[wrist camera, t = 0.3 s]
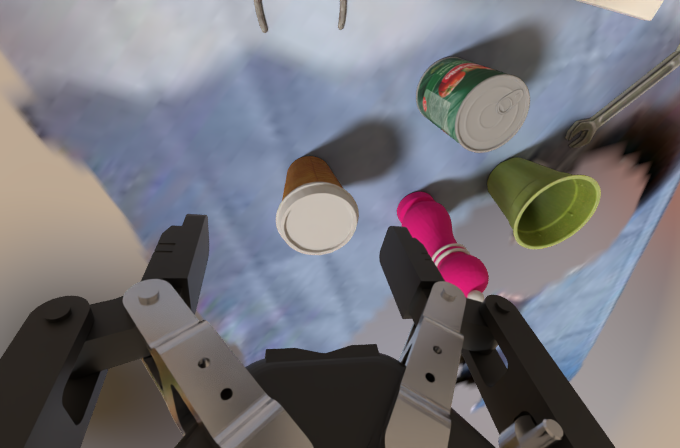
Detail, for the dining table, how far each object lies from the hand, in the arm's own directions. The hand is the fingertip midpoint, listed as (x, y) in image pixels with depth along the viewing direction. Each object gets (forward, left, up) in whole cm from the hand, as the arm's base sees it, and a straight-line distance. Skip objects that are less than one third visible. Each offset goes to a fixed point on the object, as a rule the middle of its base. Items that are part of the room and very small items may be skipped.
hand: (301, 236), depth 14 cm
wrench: (-7, +50, -29) cm, 58 cm away
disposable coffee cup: (+11, +5, -29) cm, 31 cm away
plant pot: (+8, +37, -29) cm, 47 cm away
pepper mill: (+15, +23, -29) cm, 40 cm away
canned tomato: (-3, +21, -29) cm, 36 cm away
